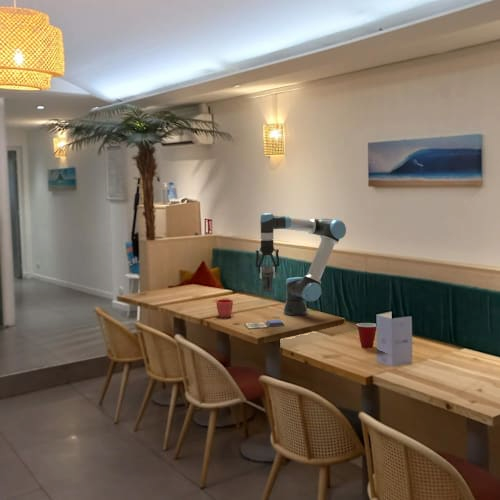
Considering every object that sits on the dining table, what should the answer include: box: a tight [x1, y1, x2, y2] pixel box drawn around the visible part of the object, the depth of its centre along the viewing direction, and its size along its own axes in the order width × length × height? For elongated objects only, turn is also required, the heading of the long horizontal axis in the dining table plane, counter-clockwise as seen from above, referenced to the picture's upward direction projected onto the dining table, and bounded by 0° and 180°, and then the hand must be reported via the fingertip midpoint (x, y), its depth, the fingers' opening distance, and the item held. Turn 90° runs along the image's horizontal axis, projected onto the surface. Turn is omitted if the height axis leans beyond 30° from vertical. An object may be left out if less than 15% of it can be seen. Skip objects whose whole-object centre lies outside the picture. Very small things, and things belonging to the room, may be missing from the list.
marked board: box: [244, 322, 270, 330], centre depth 370 cm, size 12×12×1 cm
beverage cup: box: [261, 258, 273, 293], centre depth 374 cm, size 7×7×20 cm
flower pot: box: [215, 299, 234, 318], centre depth 398 cm, size 11×11×10 cm
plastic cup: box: [356, 322, 377, 349], centre depth 322 cm, size 11×11×12 cm
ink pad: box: [265, 319, 285, 328], centre depth 373 cm, size 9×9×2 cm
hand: (267, 278), depth 374 cm, fingers closed on beverage cup, 7 cm apart
